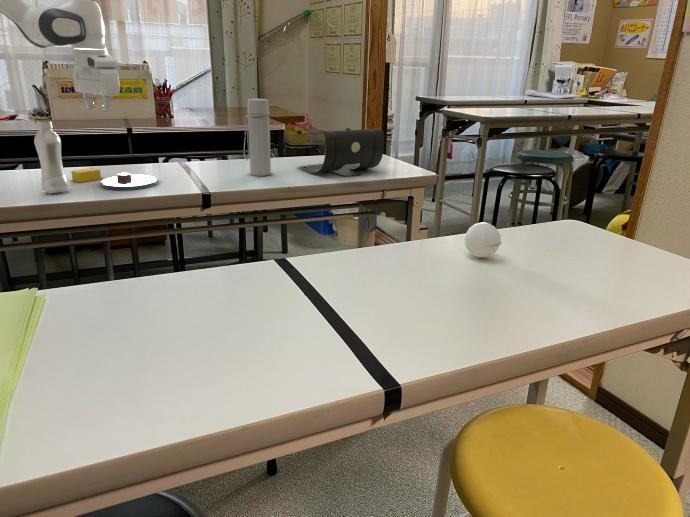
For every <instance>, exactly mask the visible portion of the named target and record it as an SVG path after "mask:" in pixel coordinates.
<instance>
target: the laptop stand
mask: <svg viewBox="0 0 690 517" xmlns="http://www.w3.org/2000/svg"><path fill="white" fill-rule="evenodd" d="M310 135H312V136H313V135H323V137H324V144H325V147H324V148H325V150H324V159H323V163H319V164H317V163H316V164H309V165H302V166H299V169H300V170H302V171H304V172H306V173H309V174H321V173H331V172H332V173H334V174H336V175H339V176H342V177H355V176H360V175H361V173H359V172H357V171H354V170H362V169H363V170H364V169H373V168H376V167H377V166H379V164H380V163H381V162H382V159H383V155H384V151H385V133H384V130H383V129H382V128H367V129H351V128H347V127H346V128H345V129H344V130H343V129H342V130H319V131H313V132H306V133H305V132H304V133H303V132H302V130H296V134H294V136H310ZM354 143H358V144H359V149H358V150H357V151H353V149H352V147H353V144H354Z"/></svg>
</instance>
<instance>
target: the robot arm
mask: <svg viewBox="0 0 690 517" xmlns="http://www.w3.org/2000/svg"><path fill="white" fill-rule="evenodd" d="M0 13H1V14H3V16H5V17H6V18H8V19H9V20H10V21H11V22H12V23H13V24H14V25H15V26H16V27H17V29H18V31H19V32H20V33H21V34H22V36H23V37H24V38H25V39H26V41H27V42H28V43H30V44H31V45H33V46H35V47H38V48H40V49H49V48H62V47H67V46H69V45H71V46H72V50H73V57H74V66H73V67H72V79H73V80H72V81H73V88H74V90H75V92H76V93H80V94H82V98H83V100H84V102H85V104H86V109H88V110H95V109H96V106H95V105H96V104H95V102H94V101H93V95H96V96H101V97H102V100H103V105H101V108H102V111H103V112H104V113H111V112H112V107H111V106H112V102H113V97H118V96H119V95H120V91H121V88H120V77H119V73H118V72H119V71H118V68H119V62H118V60H117V59H116V58H114V57H113V56H111V55H110V54H109V52H108V46H107V44H106V41H105V40H106V39H105V38H106V37H105V36H106V29H105V22H104V18H103V14H102V13H103V12H102V10H101V8H100V6H99V3H98V2H96V1H95V0H63V1H61V2H59V3H57V4H53V5H51V6H48V7H43V8H39V7H36V6H33V5H31V4H29V3H28V2H26V0H0Z"/></svg>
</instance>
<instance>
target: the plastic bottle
mask: <svg viewBox="0 0 690 517" xmlns="http://www.w3.org/2000/svg"><path fill="white" fill-rule="evenodd" d="M35 124H36V129H37V130H38V131H37V132H36V134H35V136H34V140H33V143H34V146H35V150H36V153H37V155H38V159H39V165H40V171H41V178H40V179H41V180H40V181H41V182H40V184H41V188H42V190H43V191H44V192H45V193H47V194H48V193H49V194H59V193H63V192H66V191H67V190H68V188H69V182H68V178H67V176H66V173H65V169H64V166H63V157H62V140H61V137H60V136H59V135H58V134H57V133H56V132H55V130H53V128H54V126H53V122H52V121H51V120H37V121H35Z"/></svg>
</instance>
